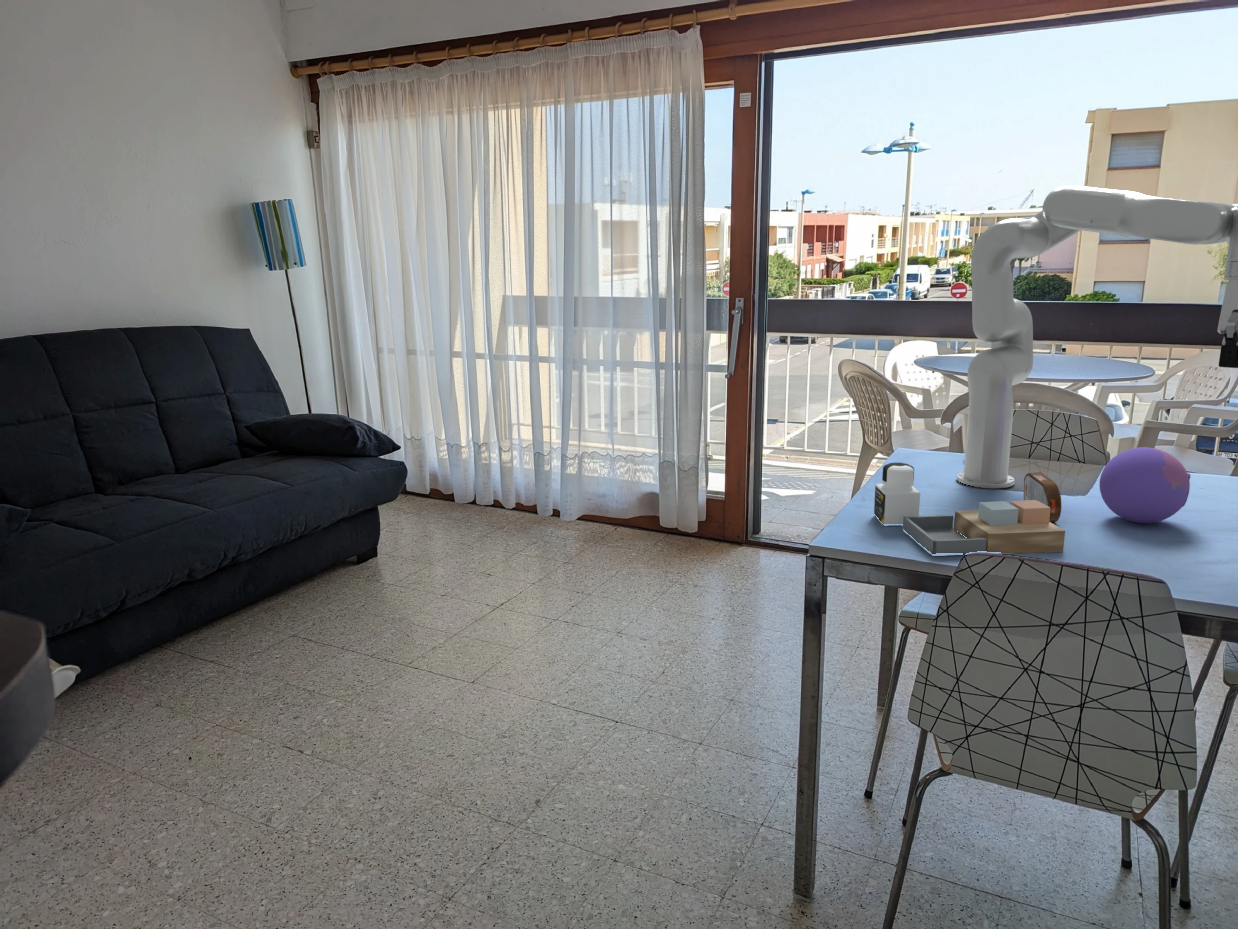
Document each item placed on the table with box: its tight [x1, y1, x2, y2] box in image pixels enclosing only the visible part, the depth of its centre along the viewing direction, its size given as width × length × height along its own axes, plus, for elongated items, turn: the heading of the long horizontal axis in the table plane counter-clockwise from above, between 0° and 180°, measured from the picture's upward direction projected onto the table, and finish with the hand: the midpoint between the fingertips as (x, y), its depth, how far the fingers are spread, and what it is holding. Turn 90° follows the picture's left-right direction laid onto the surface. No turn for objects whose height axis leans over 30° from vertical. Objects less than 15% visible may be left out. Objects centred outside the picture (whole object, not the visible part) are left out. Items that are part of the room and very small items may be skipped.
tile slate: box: [978, 500, 1019, 525], centre depth 153 cm, size 5×5×3 cm
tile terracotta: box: [1009, 499, 1051, 524], centre depth 153 cm, size 5×5×3 cm
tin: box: [1023, 471, 1062, 523], centre depth 167 cm, size 15×3×8 cm, turn 172°
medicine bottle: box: [873, 462, 921, 524], centre depth 166 cm, size 7×7×12 cm
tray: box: [902, 514, 987, 555], centre depth 154 cm, size 14×10×3 cm
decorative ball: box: [1099, 446, 1191, 524], centre depth 161 cm, size 15×15×15 cm
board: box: [953, 509, 1066, 555], centre depth 154 cm, size 14×14×4 cm
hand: (1235, 364), depth 153 cm, fingers open, 9 cm apart
